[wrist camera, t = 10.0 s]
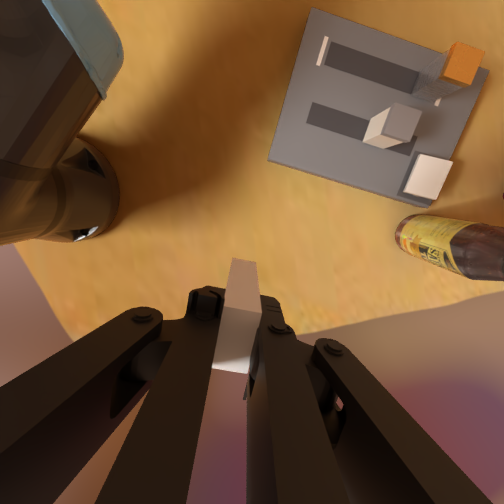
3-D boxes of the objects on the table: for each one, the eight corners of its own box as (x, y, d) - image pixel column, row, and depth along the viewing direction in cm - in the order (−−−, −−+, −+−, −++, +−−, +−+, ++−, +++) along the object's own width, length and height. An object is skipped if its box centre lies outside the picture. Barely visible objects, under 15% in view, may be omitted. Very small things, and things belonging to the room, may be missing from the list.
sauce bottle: (384, 241, 39) (515, 290, 20) (409, 205, 38) (573, 221, 19) (418, 260, 40) (574, 326, 21) (443, 226, 39) (634, 262, 19)
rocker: (400, 192, 36) (404, 191, 34) (415, 156, 35) (420, 153, 33) (430, 200, 35) (436, 199, 33) (446, 164, 34) (453, 161, 32)
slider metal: (409, 95, 32) (443, 75, 27) (420, 68, 32) (457, 41, 26) (432, 103, 33) (470, 85, 27) (443, 76, 32) (485, 51, 26)
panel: (267, 160, 36) (268, 158, 34) (307, 17, 32) (311, 6, 30) (419, 207, 38) (428, 208, 36) (476, 77, 34) (490, 70, 32)
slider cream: (361, 142, 34) (383, 132, 28) (370, 117, 33) (395, 102, 27) (383, 149, 34) (410, 141, 28) (393, 124, 33) (422, 111, 27)
